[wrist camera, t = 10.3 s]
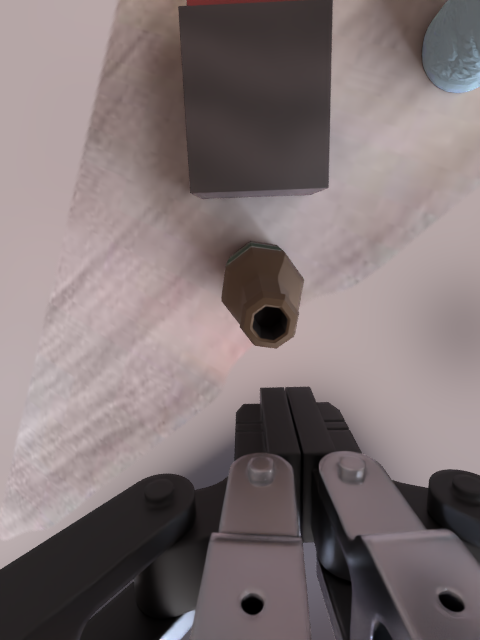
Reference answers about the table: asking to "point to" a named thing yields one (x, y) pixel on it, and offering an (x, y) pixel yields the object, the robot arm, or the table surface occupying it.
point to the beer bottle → (263, 293)
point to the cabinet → (257, 97)
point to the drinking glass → (454, 47)
